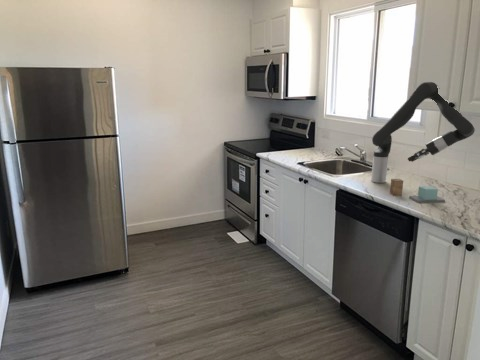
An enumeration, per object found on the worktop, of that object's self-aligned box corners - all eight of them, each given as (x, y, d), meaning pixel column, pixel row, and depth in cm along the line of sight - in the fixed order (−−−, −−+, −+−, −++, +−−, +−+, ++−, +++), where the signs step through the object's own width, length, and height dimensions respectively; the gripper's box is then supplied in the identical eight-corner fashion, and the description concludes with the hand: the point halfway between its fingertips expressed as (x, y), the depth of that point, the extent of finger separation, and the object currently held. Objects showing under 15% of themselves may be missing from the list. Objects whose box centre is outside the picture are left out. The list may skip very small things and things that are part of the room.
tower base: (409, 198, 223) (410, 185, 221) (435, 197, 225) (437, 185, 223) (417, 202, 214) (419, 190, 213) (444, 201, 216) (446, 189, 214)
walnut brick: (389, 193, 232) (391, 178, 230) (397, 193, 233) (399, 178, 231) (393, 195, 228) (395, 180, 225) (401, 195, 228) (403, 180, 226)
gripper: (434, 140, 224) (408, 155, 232) (431, 139, 212) (404, 154, 220) (441, 151, 223) (414, 165, 230) (439, 150, 211) (411, 165, 218)
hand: (409, 160), depth 225 cm, fingers open, 8 cm apart
